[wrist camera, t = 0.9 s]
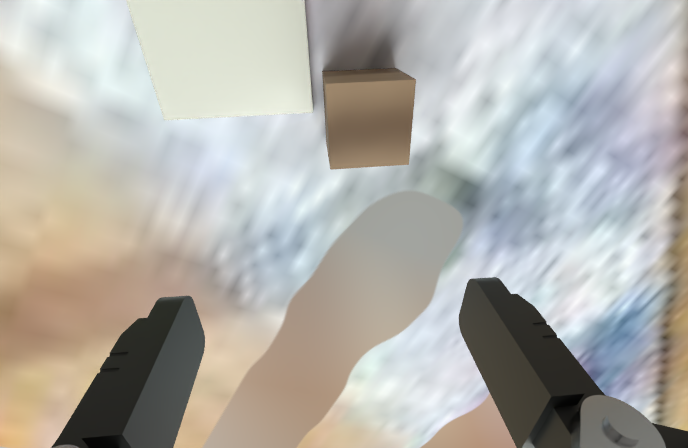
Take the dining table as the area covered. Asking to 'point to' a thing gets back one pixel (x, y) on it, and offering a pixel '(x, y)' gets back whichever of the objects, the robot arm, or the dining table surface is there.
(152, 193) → the dining table surface
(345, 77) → the walnut cube
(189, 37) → the plate
